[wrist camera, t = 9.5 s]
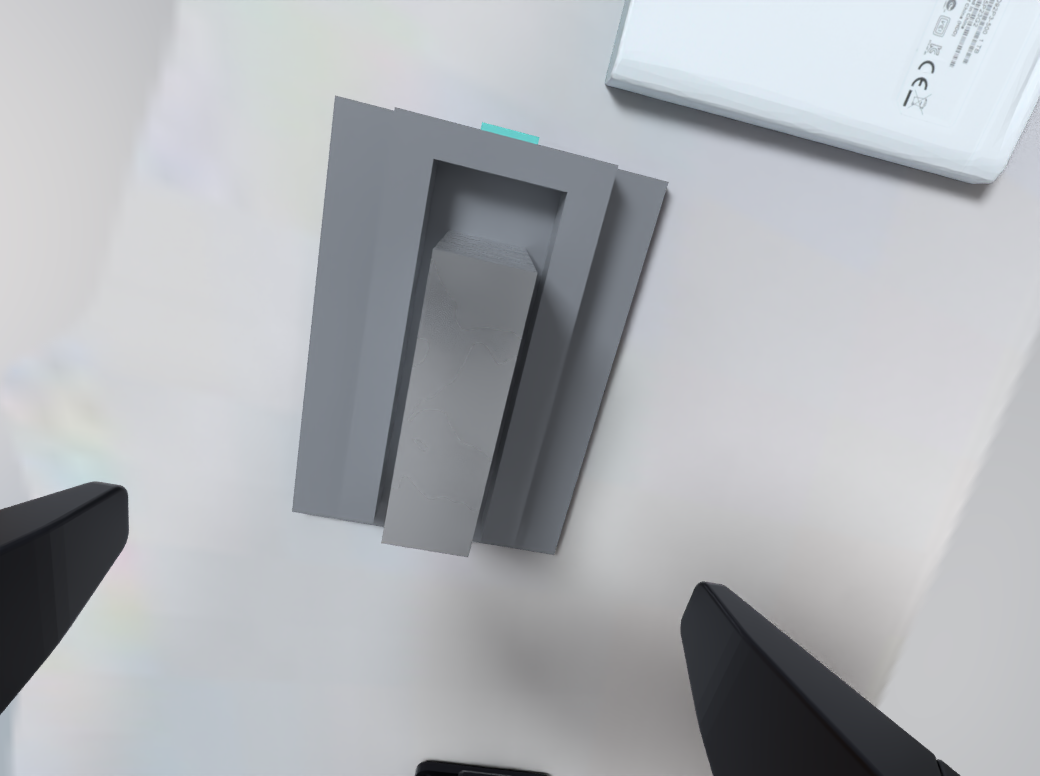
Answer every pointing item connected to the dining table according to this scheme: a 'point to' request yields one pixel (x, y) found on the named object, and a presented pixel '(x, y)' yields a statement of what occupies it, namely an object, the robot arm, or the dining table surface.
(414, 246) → the dock
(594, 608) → the dining table surface
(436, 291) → the block
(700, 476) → the dining table surface
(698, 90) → the external hard drive
